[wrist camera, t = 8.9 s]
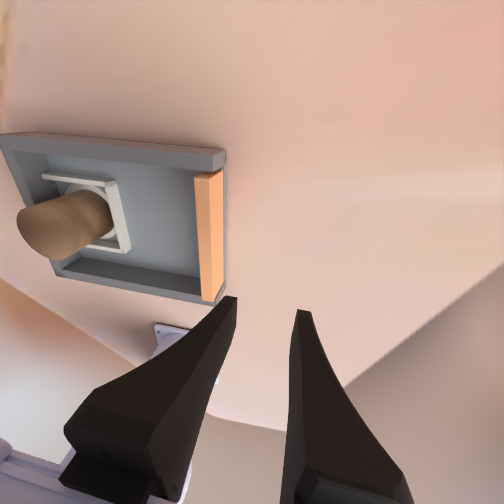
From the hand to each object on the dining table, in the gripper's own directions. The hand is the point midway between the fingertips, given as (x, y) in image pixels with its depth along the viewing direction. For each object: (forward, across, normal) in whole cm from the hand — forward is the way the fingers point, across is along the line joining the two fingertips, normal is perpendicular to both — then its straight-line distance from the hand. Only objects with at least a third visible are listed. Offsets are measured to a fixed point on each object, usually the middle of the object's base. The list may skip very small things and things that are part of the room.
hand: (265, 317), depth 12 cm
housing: (+9, +13, 0) cm, 16 cm away
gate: (+9, +5, 0) cm, 10 cm away
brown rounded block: (+9, +18, 0) cm, 20 cm away
